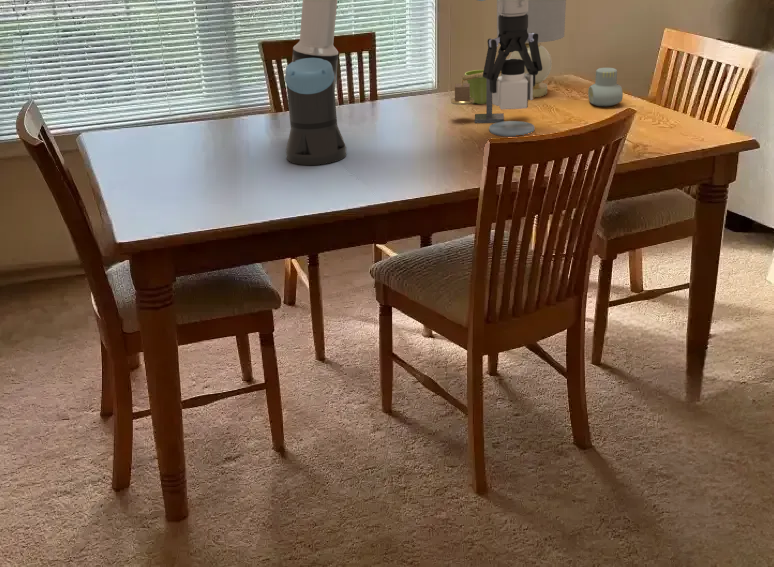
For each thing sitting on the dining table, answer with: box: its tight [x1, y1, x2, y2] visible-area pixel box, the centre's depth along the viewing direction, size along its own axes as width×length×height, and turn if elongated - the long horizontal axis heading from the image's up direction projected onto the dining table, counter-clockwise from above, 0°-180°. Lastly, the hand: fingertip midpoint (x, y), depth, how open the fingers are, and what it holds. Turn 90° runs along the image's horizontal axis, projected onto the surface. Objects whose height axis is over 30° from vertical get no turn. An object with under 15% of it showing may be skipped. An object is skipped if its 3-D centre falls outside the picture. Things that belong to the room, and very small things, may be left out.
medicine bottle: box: [497, 58, 529, 110], centre depth 225 cm, size 7×7×12 cm
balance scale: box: [450, 72, 505, 124], centre depth 237 cm, size 21×6×15 cm, turn 84°
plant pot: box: [464, 69, 486, 105], centre depth 257 cm, size 9×9×9 cm
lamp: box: [496, 0, 567, 99], centre depth 257 cm, size 20×20×35 cm
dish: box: [488, 120, 536, 137], centre depth 230 cm, size 12×12×1 cm
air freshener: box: [587, 67, 624, 107], centre depth 247 cm, size 11×8×10 cm
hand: (512, 101), depth 227 cm, fingers closed on medicine bottle, 9 cm apart
